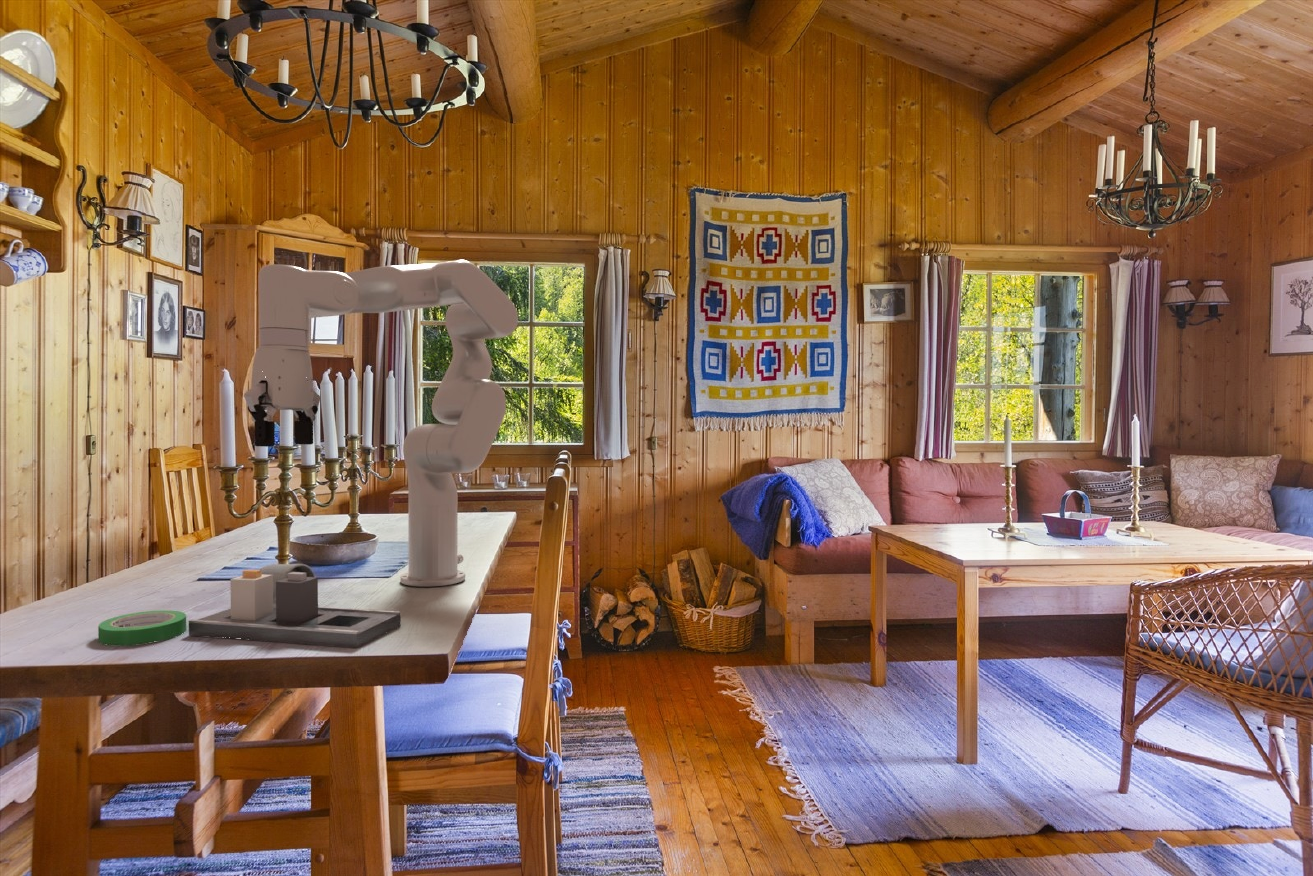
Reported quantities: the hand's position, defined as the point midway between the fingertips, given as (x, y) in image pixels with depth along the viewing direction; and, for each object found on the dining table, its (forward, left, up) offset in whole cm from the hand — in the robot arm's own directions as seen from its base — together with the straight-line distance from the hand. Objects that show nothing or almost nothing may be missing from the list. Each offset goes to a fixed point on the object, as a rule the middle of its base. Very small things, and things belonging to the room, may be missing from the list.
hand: (285, 445), depth 128 cm
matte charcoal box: (+8, +8, -28) cm, 30 cm away
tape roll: (+15, -13, -29) cm, 35 cm away
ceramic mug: (-4, -4, -29) cm, 29 cm away
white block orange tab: (+8, 0, -28) cm, 29 cm away
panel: (+8, +8, -28) cm, 30 cm away
